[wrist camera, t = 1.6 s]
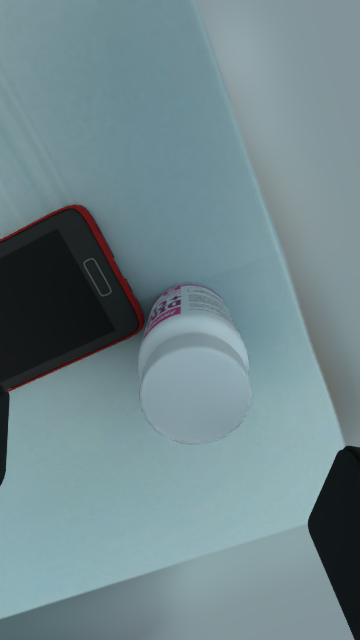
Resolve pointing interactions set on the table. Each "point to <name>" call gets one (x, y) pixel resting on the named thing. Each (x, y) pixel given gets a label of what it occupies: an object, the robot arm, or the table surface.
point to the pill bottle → (193, 367)
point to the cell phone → (60, 296)
